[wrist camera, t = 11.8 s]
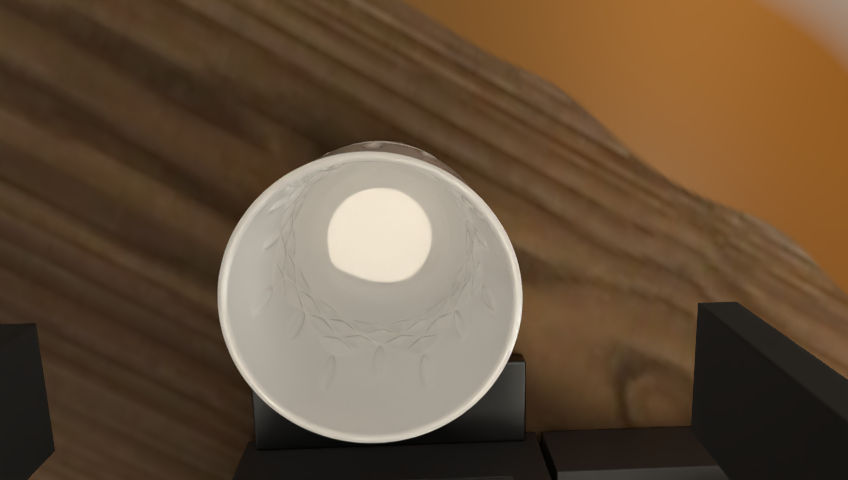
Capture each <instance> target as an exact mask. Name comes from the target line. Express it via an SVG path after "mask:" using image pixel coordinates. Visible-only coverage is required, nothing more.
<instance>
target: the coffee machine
mask: <svg viewBox="0 0 848 480" xmlns="http://www.w3.org/2000/svg"><path fill="white" fill-rule="evenodd" d="M251 391H252V403H253V414H254V426H255V437H256V442H250V443H248V444H247V447H246V449H245V451H244V454H243V456H242V458H241V461H240V463H239V465H238V468H237V470H236V472H235V475H234V477H233V479H232V480H551V477H550V475H549V472H548V469H547V466H546V463H545V461H544V458H543V455H542V452H541V449H540V446H539V444H538V441H537V438H536V435H535V433H534V432H525V414H526V362H525V360H524V357H523V355H510V357H509V359H508V361H507V363H506V365H505V367H504V369H503V371H502V372H501V374H500V375H499V377H498V378H497V380H496V381H495V383H494V384H493V385H492V386H491V388H490V389H489V390H488V391H487V392H486V394H485V395H484V396H483V397H482V398H481V399H480V400H479V401H478V402H477V403H476V404H474V405H473V406H472V407H471V408H470V409H468V410H467V411H466V412H465V413H463V414H462V415H460V416H459V417H458V418H456V419H454V420H453V421H451V422H449V423H448V424H446V425H444V426H442V427H440V428H438V429H436V430H433V431H431V432H428V433H426V434H423V435H420V436H417V437H413V438H410V439H405V440H400V441H394V442H386V443H357V442H348V441H342V440H337V439H333V438H329V437H326V436H322V435H320V434H317V433H314V432H312V431H309V430H307V429H305V428H302V427H300V426H298V425H297V424H295V423H293V422H291V421H289V420H288V419H286V418H285V417H283V416H282V415H280V414H279V413H277V412H276V411H275V410H274V409H272V408H271V407H270V406H269V405H268V404H266V403H265V402H264V401H263V400H262V399H261V398H260V397H259V396H258V395H257V394H256V393H255V392H254V390H253V389H252V388H251Z"/></svg>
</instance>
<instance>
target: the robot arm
mask: <svg viewBox="0 0 848 480" xmlns="http://www.w3.org/2000/svg"><path fill="white" fill-rule="evenodd" d="M691 431H692V432H693V434H694V435H695V436H696V438H697V439H698V440H699V441H700V443H701V444H702V445H703V447H704V448H705V449H706V450H707V452H708V453H709V454H710V455H711V457H712V458H713V459H714V461H715V462H716V463H717V464H718V466H719V467H720V468H721V470H722V471H723V472H724V473H725V475H726V476H727V477H728V479H729V480H848V380H847V379H846V378H845V377H843V376H842V375H840V374H839V373H837V372H836V371H835V370H833V369H832V368H830V367H829V366H827V365H826V364H825V363H823V362H822V361H820V360H819V359H817V358H816V357H815V356H813V355H812V354H810V353H809V352H807V351H806V350H805V349H803V348H802V347H800V346H799V345H797V344H796V343H795V342H793V341H792V340H790V339H789V338H788V337H786V336H785V335H783V334H782V333H780V332H779V331H778V330H776V329H775V328H773V327H772V326H770V325H769V324H768V323H766V322H765V321H763V320H762V319H760V318H759V317H758V316H756V315H755V314H753V313H752V312H750V311H749V310H748V309H746V308H745V307H743V306H742V305H740V304H739V303H738V302H715V303H698V315H697V333H696V350H695V368H694V386H693V403H692V421H691ZM54 451H55V448H54V441H53V434H52V428H51V421H50V415H49V408H48V401H47V395H46V388H45V382H44V375H43V368H42V362H41V355H40V348H39V342H38V335H37V329H36V323H31V324H0V480H27V479H28V478H29V477H30V476H31V475H32V474H33V473H34V472H35V471H36V470H37V469H38V468H39V467H40V466H41V465H42V464H43V463H44V462H45V461H46V460H47V458H48V457H49V456H50V455H51V454H52V453H53V452H54Z"/></svg>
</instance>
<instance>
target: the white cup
mask: <svg viewBox="0 0 848 480" xmlns="http://www.w3.org/2000/svg"><path fill="white" fill-rule="evenodd" d="M217 298H218V313H219V320H220V325H221V329H222V333H223V337H224V340H225V343H226V345H227V348H228V351H229V353H230V355H231V357H232V359H233V361H234V363H235V365H236V367H237V368H238V370H239V372H240V373H241V375H242V376H243V378H244V379H245V381H246V382H247V383H248V384H249V386H250V387H251V388H252V389H253V390H254V392H255V393H256V394H257V395H258V396H259V397H260V398H261V399H262V400H263V401H264V402H265V403H266V404H268V405H269V406H270V407H271V408H272V409H274V410H275V411H276V412H277V413H279V414H280V415H282V416H283V417H285V418H286V419H288V420H289V421H291V422H293V423H295V424H297V425H298V426H300V427H302V428H305V429H307V430H309V431H312V432H314V433H317V434H320V435H322V436H326V437H329V438H333V439H337V440H342V441H348V442H357V443H386V442H394V441H400V440H405V439H410V438H413V437H417V436H420V435H423V434H426V433H428V432H431V431H433V430H436V429H438V428H440V427H442V426H444V425H446V424H448V423H449V422H451V421H453V420H454V419H456V418H458V417H459V416H460V415H462V414H463V413H465V412H466V411H467V410H468V409H470V408H471V407H472V406H473V405H474V404H476V403H477V402H478V401H479V400H480V399H481V398H482V397H483V396H484V395H485V394H486V392H487V391H488V390H489V389H490V388H491V386H492V385H493V384H494V383H495V381H496V380H497V378H498V377H499V375H500V374H501V372H502V371H503V369H504V367H505V365H506V363H507V361H508V359H509V357H510V355H511V353H512V350H513V348H514V345H515V342H516V339H517V335H518V332H519V327H520V322H521V315H522V300H523V297H522V282H521V275H520V270H519V265H518V261H517V258H516V255H515V252H514V249H513V246H512V244H511V242H510V239H509V237H508V235H507V233H506V231H505V230H504V228H503V226H502V224H501V223H500V221H499V220H498V218H497V217H496V215H495V214H494V213H493V211H492V210H491V209H490V208H489V206H488V205H487V204H486V203H485V202H484V201H483V200H482V199H481V198H480V197H479V196H478V195H477V194H476V193H475V192H474V190H473V189H472V188H471V187H470V186H469V185H468V184H467V183H466V182H465V181H464V180H463V179H462V178H461V177H460V176H459V175H458V174H457V173H456V172H455V171H453V170H452V169H451V168H450V167H448V166H447V165H446V164H445V163H443V162H442V161H440V160H439V159H437V158H436V157H434V156H432V155H431V154H429V153H427V152H425V151H423V150H421V149H418V148H415V147H412V146H409V145H407V144H405V143H403V142H389V141H369V142H360V143H356V144H352V145H348V146H345V147H342V148H339V149H336V150H333V151H331V152H329V153H327V154H325V155H323V156H321V157H319V158H317V159H315V160H313V161H311V162H309V163H307V164H305V165H303V166H301V167H299V168H297V169H295V170H293V171H291V172H290V173H288V174H286V175H285V176H283V177H282V178H280V179H279V180H277V181H276V182H275V183H273V184H272V185H271V186H270V187H268V188H267V189H266V190H265V191H264V192H263V193H262V194H261V195H260V196H259V197H258V198H257V199H256V200H255V201H254V202H253V203H252V204H251V206H250V207H249V208H248V209H247V211H246V212H245V213H244V215H243V216H242V218H241V219H240V221H239V222H238V224H237V226H236V227H235V229H234V231H233V233H232V235H231V237H230V239H229V242H228V244H227V247H226V249H225V252H224V255H223V259H222V263H221V267H220V272H219V279H218V295H217Z"/></svg>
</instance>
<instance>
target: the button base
mask: <svg viewBox="0 0 848 480" xmlns="http://www.w3.org/2000/svg"><path fill="white" fill-rule="evenodd" d="M542 455H543V458H544V461H545V463H546V466H547V469H548V472H549V475H550V477H551V480H729V479H728V477H727V476H726V475H725V473H724V472H723V471H722V470H721V468H720V467H719V466H718V464H717V463H716V462H715V461H714V459H713V458H712V457H711V455H710V454H709V453H708V452H707V450H706V449H705V448H704V447H703V445H702V444H701V443H700V441H699V440H698V439H697V438H696V436H695V435H694V434H693V432H692V431H691V426H690V427H663V428H635V429H608V430H580V431H553V432H542Z"/></svg>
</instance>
